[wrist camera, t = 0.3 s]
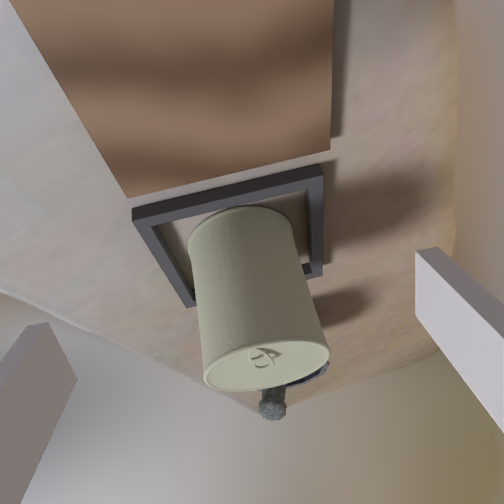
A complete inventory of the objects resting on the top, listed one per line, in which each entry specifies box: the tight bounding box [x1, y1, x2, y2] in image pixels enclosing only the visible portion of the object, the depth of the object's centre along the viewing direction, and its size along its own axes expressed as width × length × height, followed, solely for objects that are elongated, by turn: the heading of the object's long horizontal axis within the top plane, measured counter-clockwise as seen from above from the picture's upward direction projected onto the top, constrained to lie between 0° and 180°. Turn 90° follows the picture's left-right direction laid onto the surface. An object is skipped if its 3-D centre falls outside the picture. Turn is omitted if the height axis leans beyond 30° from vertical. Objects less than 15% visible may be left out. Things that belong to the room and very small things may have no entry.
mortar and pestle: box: [258, 361, 329, 421], centre depth 45 cm, size 11×9×12 cm
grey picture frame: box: [132, 164, 323, 308], centre depth 34 cm, size 14×14×1 cm
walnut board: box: [9, 0, 334, 199], centre depth 20 cm, size 16×14×1 cm
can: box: [188, 206, 331, 392], centre depth 31 cm, size 9×9×12 cm
